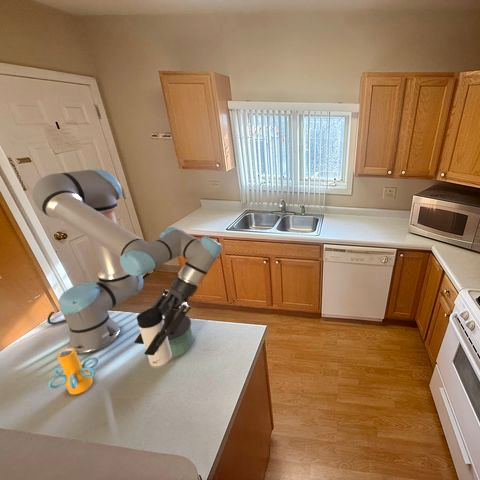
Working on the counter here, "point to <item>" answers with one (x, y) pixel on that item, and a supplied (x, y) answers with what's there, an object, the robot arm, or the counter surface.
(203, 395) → the counter surface
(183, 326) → the lid
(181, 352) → the cup
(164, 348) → the travel mug
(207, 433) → the counter surface
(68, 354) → the orange toy with loops
